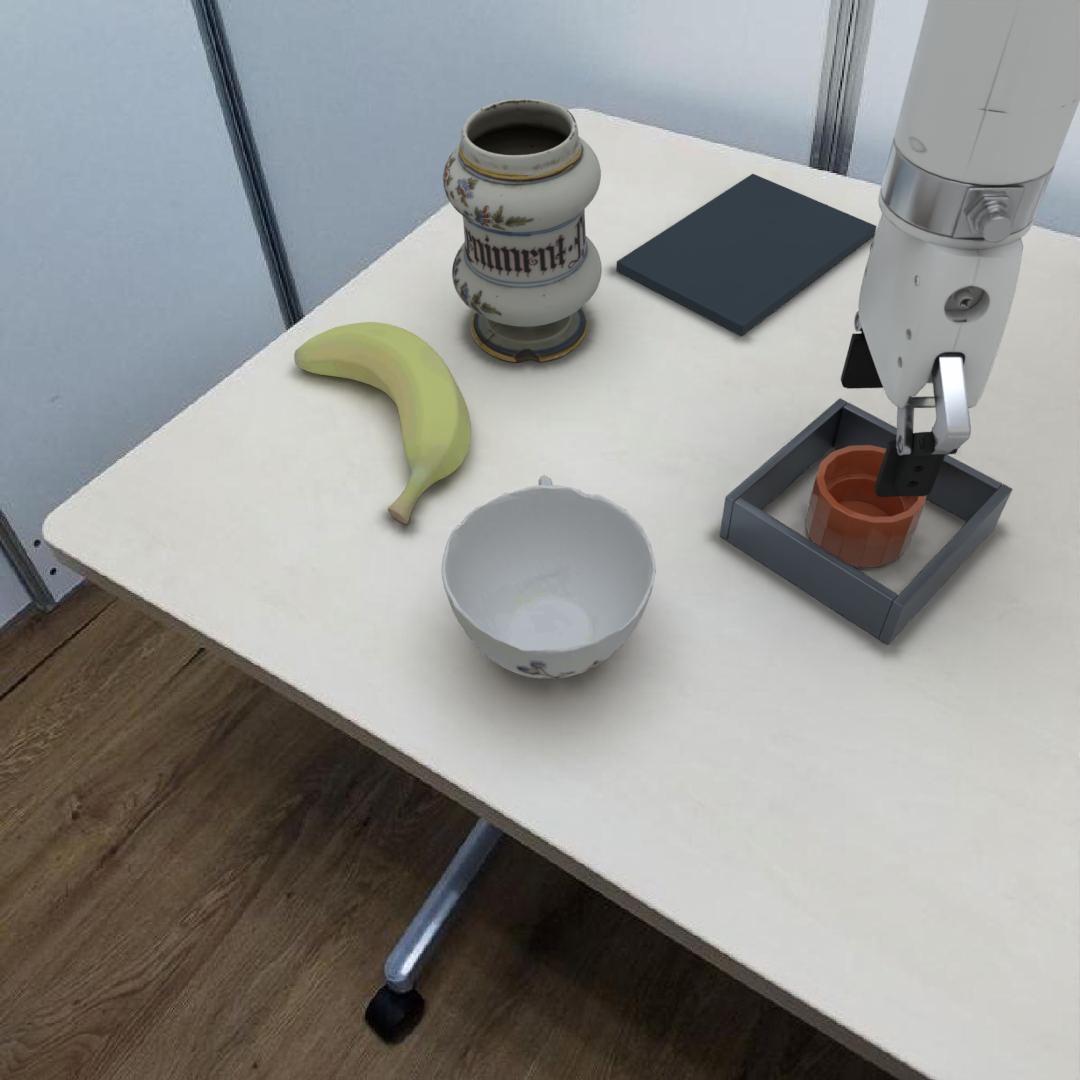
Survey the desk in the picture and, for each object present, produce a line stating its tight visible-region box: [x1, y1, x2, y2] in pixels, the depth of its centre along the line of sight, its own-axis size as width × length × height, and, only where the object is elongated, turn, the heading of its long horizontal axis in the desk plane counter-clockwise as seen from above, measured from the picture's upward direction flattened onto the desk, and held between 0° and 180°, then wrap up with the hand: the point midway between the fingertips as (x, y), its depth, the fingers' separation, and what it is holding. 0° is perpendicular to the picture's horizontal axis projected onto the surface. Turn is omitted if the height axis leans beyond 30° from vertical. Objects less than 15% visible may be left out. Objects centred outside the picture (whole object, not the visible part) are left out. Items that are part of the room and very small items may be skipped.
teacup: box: [441, 474, 657, 680], centre depth 63 cm, size 15×12×8 cm
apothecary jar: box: [442, 97, 603, 363], centre depth 79 cm, size 12×12×18 cm
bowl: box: [804, 445, 927, 568], centre depth 68 cm, size 7×7×5 cm
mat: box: [615, 173, 878, 337], centre depth 92 cm, size 20×14×1 cm
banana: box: [293, 321, 472, 525], centre depth 77 cm, size 14×6×20 cm
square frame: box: [719, 397, 1013, 646], centre depth 68 cm, size 13×13×4 cm
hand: (882, 436), depth 63 cm, fingers open, 9 cm apart
